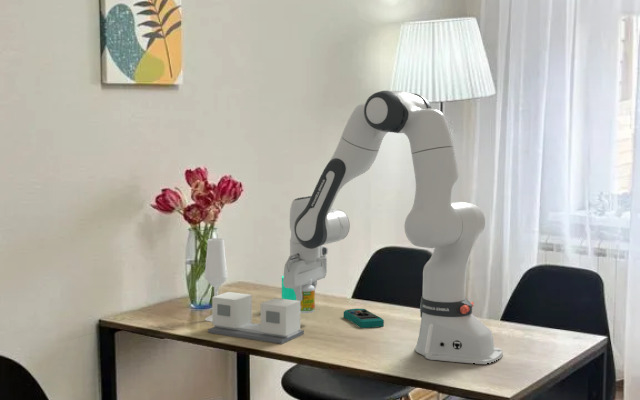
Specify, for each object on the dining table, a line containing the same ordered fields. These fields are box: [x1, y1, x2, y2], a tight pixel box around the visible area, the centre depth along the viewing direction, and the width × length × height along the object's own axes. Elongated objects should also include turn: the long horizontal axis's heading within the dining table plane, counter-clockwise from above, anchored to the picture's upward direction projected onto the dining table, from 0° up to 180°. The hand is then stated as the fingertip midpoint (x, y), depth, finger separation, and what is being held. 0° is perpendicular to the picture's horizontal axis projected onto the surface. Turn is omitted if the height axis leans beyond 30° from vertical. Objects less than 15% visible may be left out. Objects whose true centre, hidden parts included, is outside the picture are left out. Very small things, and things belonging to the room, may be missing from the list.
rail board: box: [207, 291, 305, 345], centre depth 252 cm, size 24×12×10 cm, turn 62°
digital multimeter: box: [343, 308, 385, 329], centre depth 267 cm, size 7×15×3 cm, turn 20°
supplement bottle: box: [296, 279, 316, 314], centre depth 263 cm, size 5×5×10 cm
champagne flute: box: [204, 237, 228, 323], centre depth 267 cm, size 7×7×24 cm
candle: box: [281, 274, 296, 300], centre depth 281 cm, size 6×6×12 cm
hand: (305, 298), depth 263 cm, fingers closed on supplement bottle, 5 cm apart
